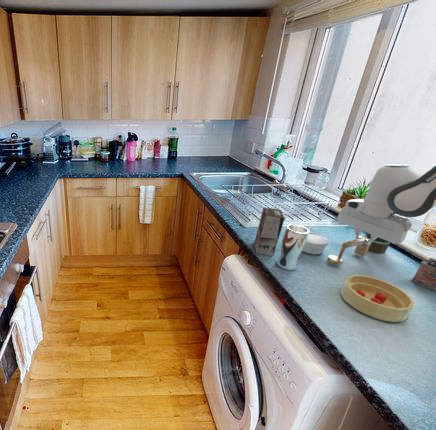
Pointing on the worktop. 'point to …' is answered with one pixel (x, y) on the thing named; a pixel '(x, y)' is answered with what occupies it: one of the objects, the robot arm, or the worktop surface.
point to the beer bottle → (378, 244)
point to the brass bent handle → (359, 250)
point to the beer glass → (292, 246)
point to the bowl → (389, 310)
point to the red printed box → (426, 274)
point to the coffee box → (269, 231)
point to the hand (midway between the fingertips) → (362, 242)
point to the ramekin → (315, 243)
